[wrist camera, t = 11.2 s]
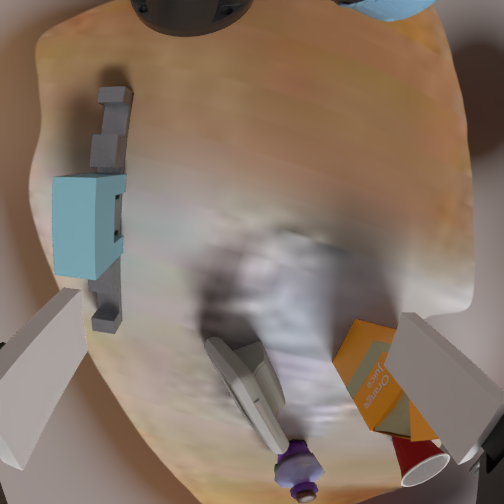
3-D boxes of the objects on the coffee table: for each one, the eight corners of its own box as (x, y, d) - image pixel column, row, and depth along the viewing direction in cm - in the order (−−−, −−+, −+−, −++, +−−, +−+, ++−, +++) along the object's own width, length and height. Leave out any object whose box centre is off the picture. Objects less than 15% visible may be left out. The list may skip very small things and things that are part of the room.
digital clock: (201, 330, 39) (197, 383, 28) (270, 318, 39) (287, 367, 29) (226, 415, 43) (230, 468, 33) (283, 405, 44) (297, 456, 33)
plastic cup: (381, 430, 49) (406, 472, 37) (427, 409, 49) (455, 446, 38) (378, 456, 52) (398, 495, 41) (420, 438, 52) (443, 472, 41)
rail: (110, 93, 29) (99, 87, 26) (133, 93, 30) (125, 86, 26) (101, 317, 37) (92, 330, 33) (122, 320, 37) (114, 333, 34)
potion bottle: (258, 452, 47) (267, 505, 35) (294, 428, 45) (310, 482, 34) (290, 465, 49) (303, 513, 37) (324, 442, 48) (343, 491, 36)
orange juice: (376, 370, 44) (438, 458, 25) (331, 362, 42) (387, 466, 23) (400, 329, 42) (478, 409, 23) (355, 317, 40) (433, 412, 21)
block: (90, 172, 31) (52, 177, 22) (126, 174, 31) (96, 177, 23) (89, 249, 33) (54, 274, 24) (123, 252, 34) (96, 280, 25)
